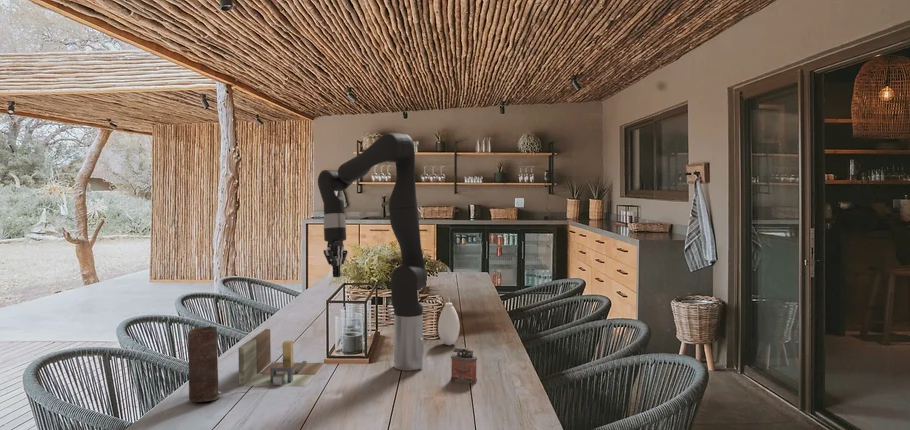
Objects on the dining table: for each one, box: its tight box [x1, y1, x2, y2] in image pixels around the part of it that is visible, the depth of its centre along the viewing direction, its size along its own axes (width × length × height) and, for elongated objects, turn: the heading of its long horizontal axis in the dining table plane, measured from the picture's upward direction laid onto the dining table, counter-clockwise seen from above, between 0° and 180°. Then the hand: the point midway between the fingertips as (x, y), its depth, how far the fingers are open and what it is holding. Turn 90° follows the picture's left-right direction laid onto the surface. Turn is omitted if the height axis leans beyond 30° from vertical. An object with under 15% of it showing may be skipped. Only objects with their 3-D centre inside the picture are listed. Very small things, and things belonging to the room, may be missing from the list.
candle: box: [187, 325, 220, 403], centre depth 156 cm, size 8×7×20 cm
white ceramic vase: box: [437, 297, 461, 346], centre depth 214 cm, size 8×8×18 cm
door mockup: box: [238, 328, 325, 387], centre depth 176 cm, size 19×22×12 cm
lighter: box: [450, 347, 478, 384], centre depth 174 cm, size 8×3×10 cm, turn 71°
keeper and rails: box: [269, 360, 307, 383], centre depth 177 cm, size 6×17×4 cm, turn 178°
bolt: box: [273, 340, 294, 385], centre depth 171 cm, size 2×11×10 cm, turn 179°
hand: (336, 277), depth 201 cm, fingers closed
